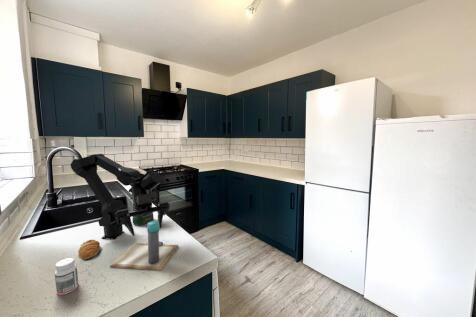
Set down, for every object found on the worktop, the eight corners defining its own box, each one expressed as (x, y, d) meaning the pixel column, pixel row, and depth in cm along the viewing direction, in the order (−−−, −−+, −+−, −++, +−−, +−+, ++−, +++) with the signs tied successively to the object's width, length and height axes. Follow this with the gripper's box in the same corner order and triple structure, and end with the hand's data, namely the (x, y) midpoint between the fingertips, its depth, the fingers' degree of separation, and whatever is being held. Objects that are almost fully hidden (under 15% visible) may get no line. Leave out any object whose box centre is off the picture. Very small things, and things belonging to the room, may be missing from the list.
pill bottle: (65, 283, 58) (62, 257, 57) (82, 282, 58) (79, 256, 58) (52, 296, 53) (48, 267, 52) (70, 294, 54) (67, 266, 53)
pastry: (101, 255, 72) (100, 246, 72) (78, 263, 68) (77, 253, 67) (99, 245, 79) (98, 236, 79) (78, 251, 75) (77, 242, 75)
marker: (145, 263, 65) (145, 224, 64) (151, 257, 68) (151, 220, 68) (156, 264, 65) (155, 225, 64) (161, 258, 68) (160, 221, 67)
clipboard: (110, 267, 65) (109, 262, 65) (136, 244, 79) (136, 240, 79) (160, 270, 63) (160, 265, 63) (178, 246, 77) (178, 242, 77)
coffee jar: (140, 227, 95) (137, 190, 93) (130, 224, 99) (127, 188, 97) (156, 219, 103) (154, 186, 101) (146, 217, 107) (144, 184, 105)
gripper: (114, 189, 69) (118, 230, 61) (167, 182, 80) (177, 216, 72) (114, 204, 76) (118, 243, 68) (163, 196, 87) (171, 228, 79)
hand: (147, 232), depth 72 cm, fingers open, 9 cm apart
